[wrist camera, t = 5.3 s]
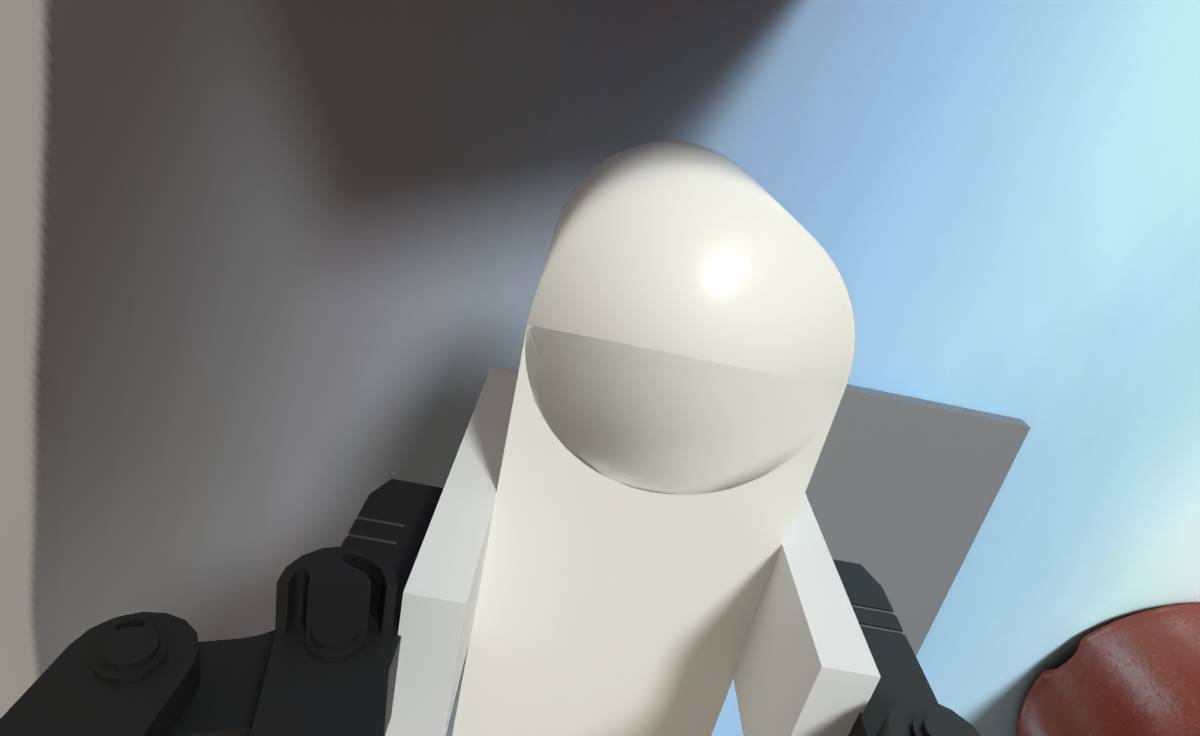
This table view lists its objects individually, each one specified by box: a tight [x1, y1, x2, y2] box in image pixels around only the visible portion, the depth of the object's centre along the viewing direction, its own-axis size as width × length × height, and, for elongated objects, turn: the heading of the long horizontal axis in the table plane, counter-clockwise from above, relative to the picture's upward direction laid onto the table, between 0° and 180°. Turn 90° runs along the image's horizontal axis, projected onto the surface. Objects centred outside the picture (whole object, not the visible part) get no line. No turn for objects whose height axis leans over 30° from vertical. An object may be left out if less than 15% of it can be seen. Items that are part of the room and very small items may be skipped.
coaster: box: [805, 385, 1030, 656], centre depth 28 cm, size 12×12×1 cm
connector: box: [452, 141, 855, 736], centre depth 14 cm, size 13×4×5 cm, turn 168°
